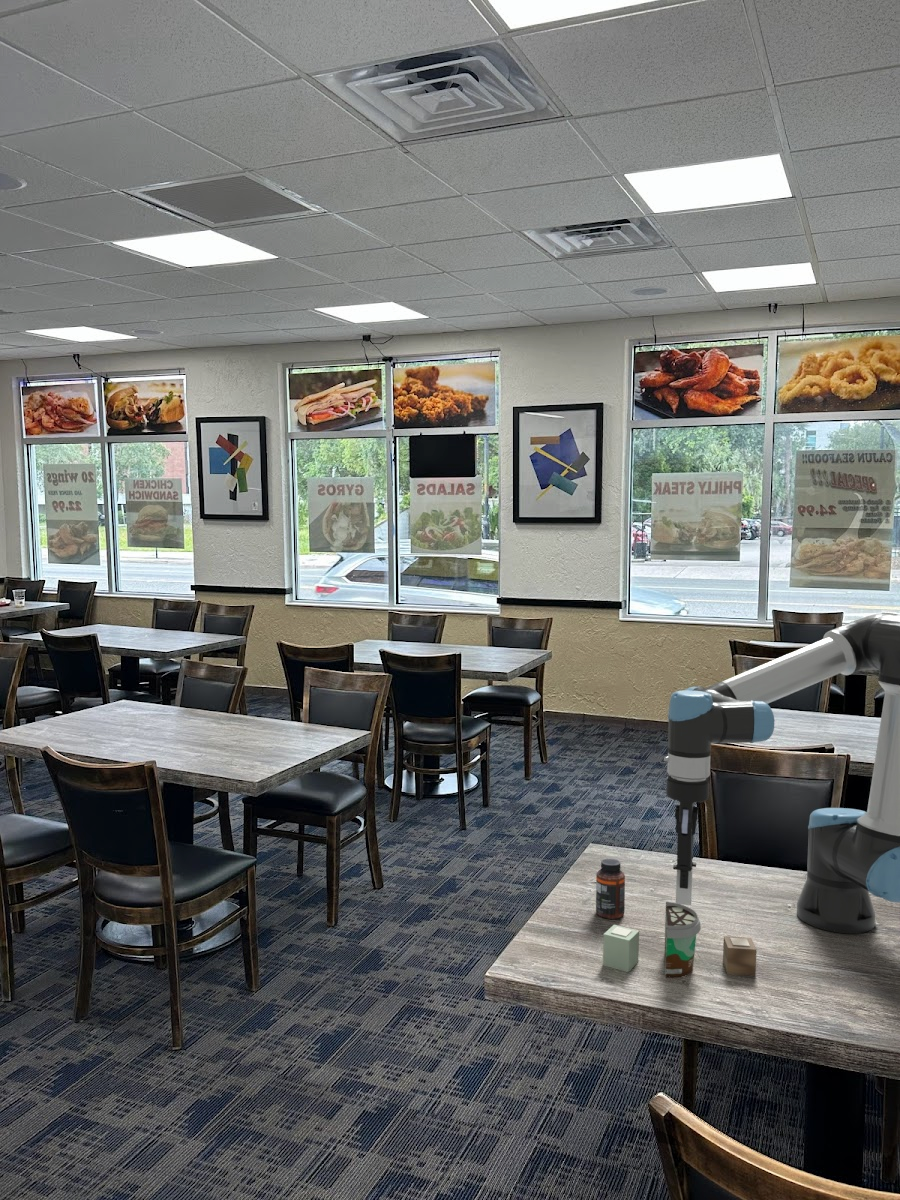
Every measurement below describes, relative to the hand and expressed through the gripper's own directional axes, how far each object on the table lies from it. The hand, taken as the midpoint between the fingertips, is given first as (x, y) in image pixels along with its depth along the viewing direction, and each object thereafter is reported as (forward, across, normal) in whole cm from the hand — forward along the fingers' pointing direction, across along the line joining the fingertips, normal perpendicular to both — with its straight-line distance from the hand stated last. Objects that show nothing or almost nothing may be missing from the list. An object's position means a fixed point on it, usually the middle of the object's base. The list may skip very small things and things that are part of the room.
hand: (683, 902), depth 173 cm
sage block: (+12, +2, -11) cm, 17 cm away
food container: (+13, 0, 0) cm, 13 cm away
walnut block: (+12, -3, +10) cm, 16 cm away
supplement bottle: (+13, -20, -16) cm, 29 cm away
